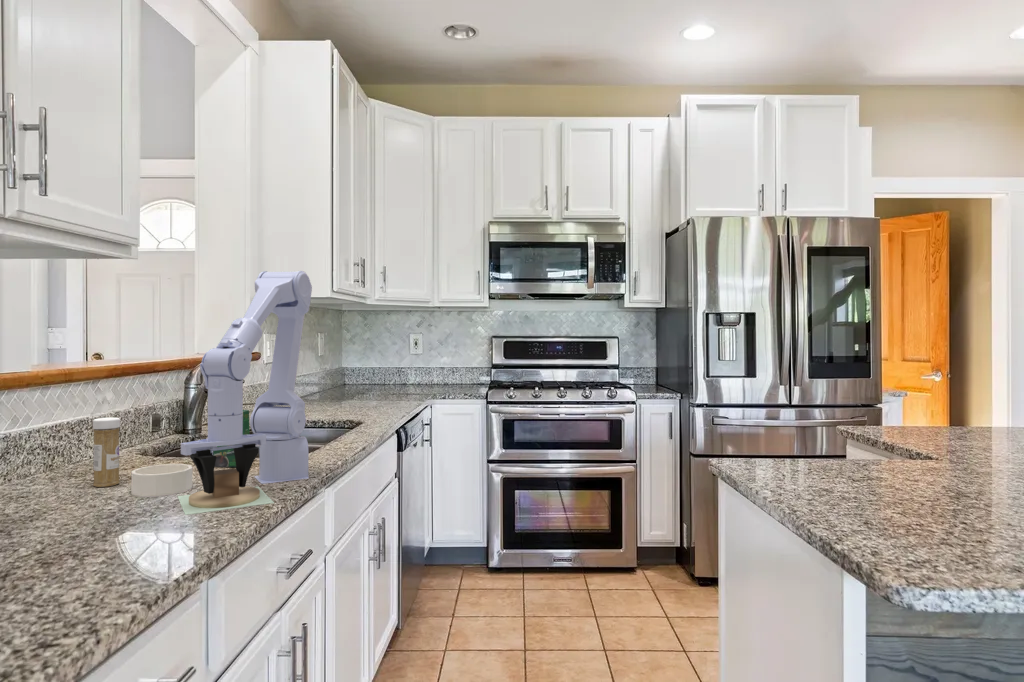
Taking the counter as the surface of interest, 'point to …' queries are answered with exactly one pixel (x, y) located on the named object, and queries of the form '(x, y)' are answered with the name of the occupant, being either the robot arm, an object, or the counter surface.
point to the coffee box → (227, 455)
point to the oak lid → (225, 492)
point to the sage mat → (195, 510)
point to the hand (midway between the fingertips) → (225, 489)
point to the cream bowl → (161, 480)
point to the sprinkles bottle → (106, 451)
